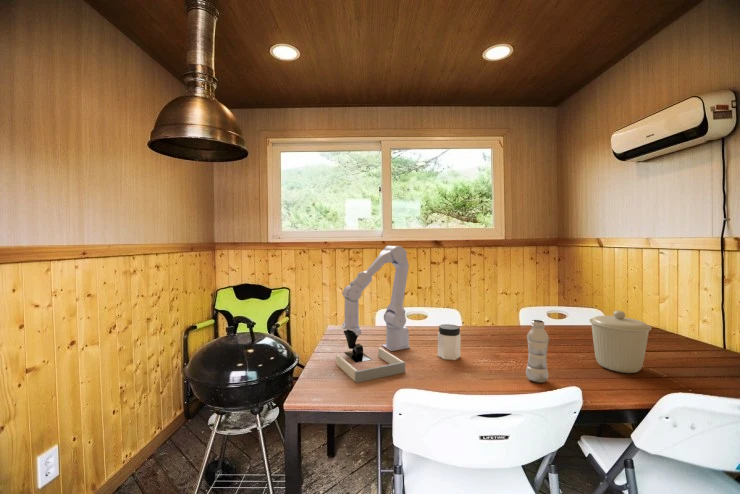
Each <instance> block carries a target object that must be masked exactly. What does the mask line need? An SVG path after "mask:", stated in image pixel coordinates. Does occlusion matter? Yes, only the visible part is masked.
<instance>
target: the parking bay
mask: <svg viewBox="0 0 740 494" xmlns="http://www.w3.org/2000/svg"><path fill="white" fill-rule="evenodd" d="M377 349H378V351H377V353H378V358H380V359H381V360H383V361H384V362H386V363H387V364H384V365H380V366H374V367H370V368H364V369H360V370H359V369H357V368H355V366H353V365H352V363H351V364H350V363H349V362H348V361H347V360H346V359H345V358H344V357H342V355H340V354H338V353H337V354H335V361H336V362H335V364H336V365H337V366H338V367H339V368H340V369H341V370H342V371H343V372H344V373H345V374H346V375H347V376H348V377H350V378H351V379H352V380H353V381H354V382H355V384H357V383H362V382H366V381H371V380H375V379H381V378H384V377H389V376H390V377H391V376H395V375H399V374H403V373H406V362H405V361H403V360H401V359H400V358H398V357H397V356H395V355H393V354H392V353H390V352H389V351H387V349H386V350H385V349H384V348H382V347H378V348H377Z"/></svg>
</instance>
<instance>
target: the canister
mask: <svg viewBox="0 0 740 494" xmlns="http://www.w3.org/2000/svg"><path fill="white" fill-rule="evenodd" d="M588 320H589V323H590V324H591V331H592V332H591V333H592V334H591V335H592V341H593V349H594V350H593V351H594V355H595V356H594V357H595V360H596V362H597V363H598V364H599V366H601V367H602V368H605V369H607V370H609V371H613V372H617V373H624V374H634V373H638V372H639V371H641V369H642V368H643V364H644V361H645V356H646V350H647V345H648V339H649V332H650V331H651V330H652V327H651V325H648V324H647V323H645V322H644V321H642V320H639V319H635V318H631V317H627V316H626V313H625V312H624V311H622V310H614V311H613V315H597V316H594V317H592V318H590V319H588Z"/></svg>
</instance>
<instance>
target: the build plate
mask: <svg viewBox="0 0 740 494" xmlns="http://www.w3.org/2000/svg"><path fill="white" fill-rule="evenodd" d="M343 354H345V355H346V356H348V358H349V359H351V360H352V361H353V362H354V363H362V362H368V361H369V362H370V361H373V359H372V358H371V357H369V356H368V355H367V354H366V353H364V346H363V345H362V344H361V343H356V344H353V349H352V350H349V351H345V352H343Z"/></svg>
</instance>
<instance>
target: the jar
mask: <svg viewBox="0 0 740 494" xmlns="http://www.w3.org/2000/svg"><path fill="white" fill-rule="evenodd" d="M461 337H462V335H461V329H460V326H458V325H455V324H450V323H444V324H440V325H438V332H437V356H438V357H439V358H441V359H442V360H449V361H457V360H458V359H459V358H460V357H461V343H462V342H461Z"/></svg>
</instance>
